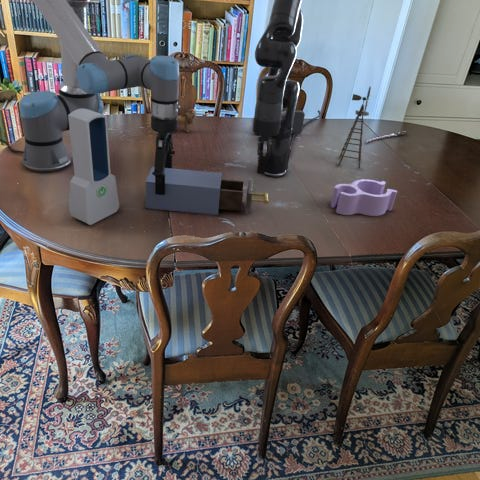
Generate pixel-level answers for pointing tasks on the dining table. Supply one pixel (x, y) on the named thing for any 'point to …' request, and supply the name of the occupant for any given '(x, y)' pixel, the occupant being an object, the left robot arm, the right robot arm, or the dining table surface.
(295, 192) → the dining table surface
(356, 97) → the miniature windmill
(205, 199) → the cabinet
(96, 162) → the electronic device
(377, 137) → the sword
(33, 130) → the left robot arm
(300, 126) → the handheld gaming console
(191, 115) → the lion figurine
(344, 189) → the clip
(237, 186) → the drawer
